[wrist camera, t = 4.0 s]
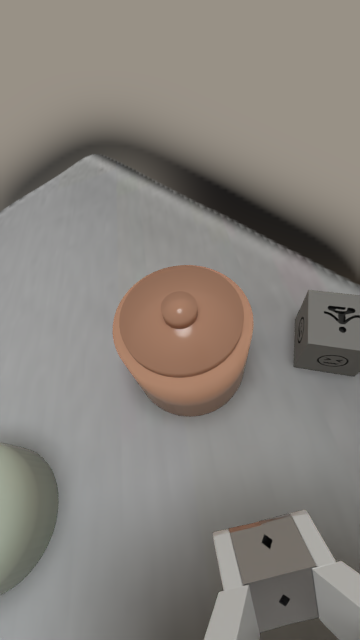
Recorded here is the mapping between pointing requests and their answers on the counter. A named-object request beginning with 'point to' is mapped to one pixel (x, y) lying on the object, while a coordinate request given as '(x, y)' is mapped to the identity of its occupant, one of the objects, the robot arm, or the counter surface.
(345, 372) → the dice cube
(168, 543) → the counter surface
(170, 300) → the terracotta canister
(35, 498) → the sage canister
